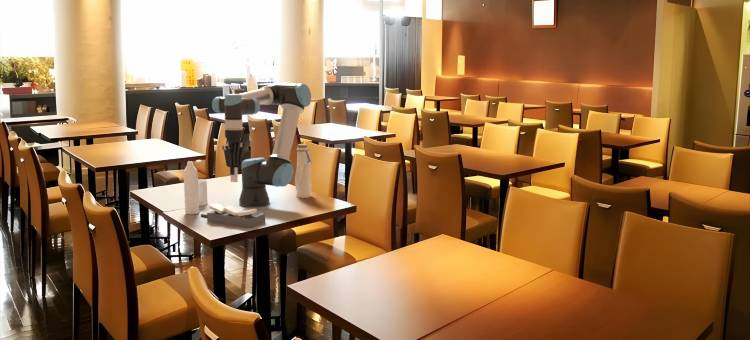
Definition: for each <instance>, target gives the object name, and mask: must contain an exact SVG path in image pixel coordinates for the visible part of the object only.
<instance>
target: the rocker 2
mask: <svg viewBox="0 0 750 340" xmlns="http://www.w3.org/2000/svg"><path fill="white" fill-rule="evenodd" d="M223 210H224V211H226V212H228V213H230V214H232V215H234V216H237V213H240V212H242V211H244V210H243V209H241V208H238V207H236V206H234V205H232V204H230V205H227V206H224V208H223Z"/></svg>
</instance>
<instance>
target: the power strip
mask: <svg viewBox="0 0 750 340" xmlns="http://www.w3.org/2000/svg"><path fill="white" fill-rule="evenodd" d="M200 217H203V218H206V219H207V220H206V221H207V222H208V223H214V224H221V225H227V226H234V227H240V228H245V227H246V229H252V228H255V227H257V226H260V225H262V224H264V223H266V213H263V212H258V211H257V212H255V213H252V214H249V215H243V216H238V215H237V216H234V215H232V214H230V213H228V212H225V213H222V214H220V213H218V212H216V211H214V210H212V211H208V212H207V213H206V214H204V213H201V214H200Z"/></svg>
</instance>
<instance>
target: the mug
mask: <svg viewBox="0 0 750 340" xmlns="http://www.w3.org/2000/svg"><path fill="white" fill-rule="evenodd" d="M198 192H199V195H198V196H199V207H203V206H207V205H208V204H209V202H208V182H207V179H203V178H201V179H199V178H198Z"/></svg>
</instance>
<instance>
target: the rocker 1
mask: <svg viewBox="0 0 750 340" xmlns="http://www.w3.org/2000/svg"><path fill="white" fill-rule="evenodd" d="M208 207H209V208H208V209H210V210H212V211H216V212H218V213H220V214H222V213H225V212H226V211H224V210H223V208H224V207H225V206H224V205H222V204H220V203H217V202H216V203H212V204H210V205H209V206H208Z"/></svg>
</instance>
